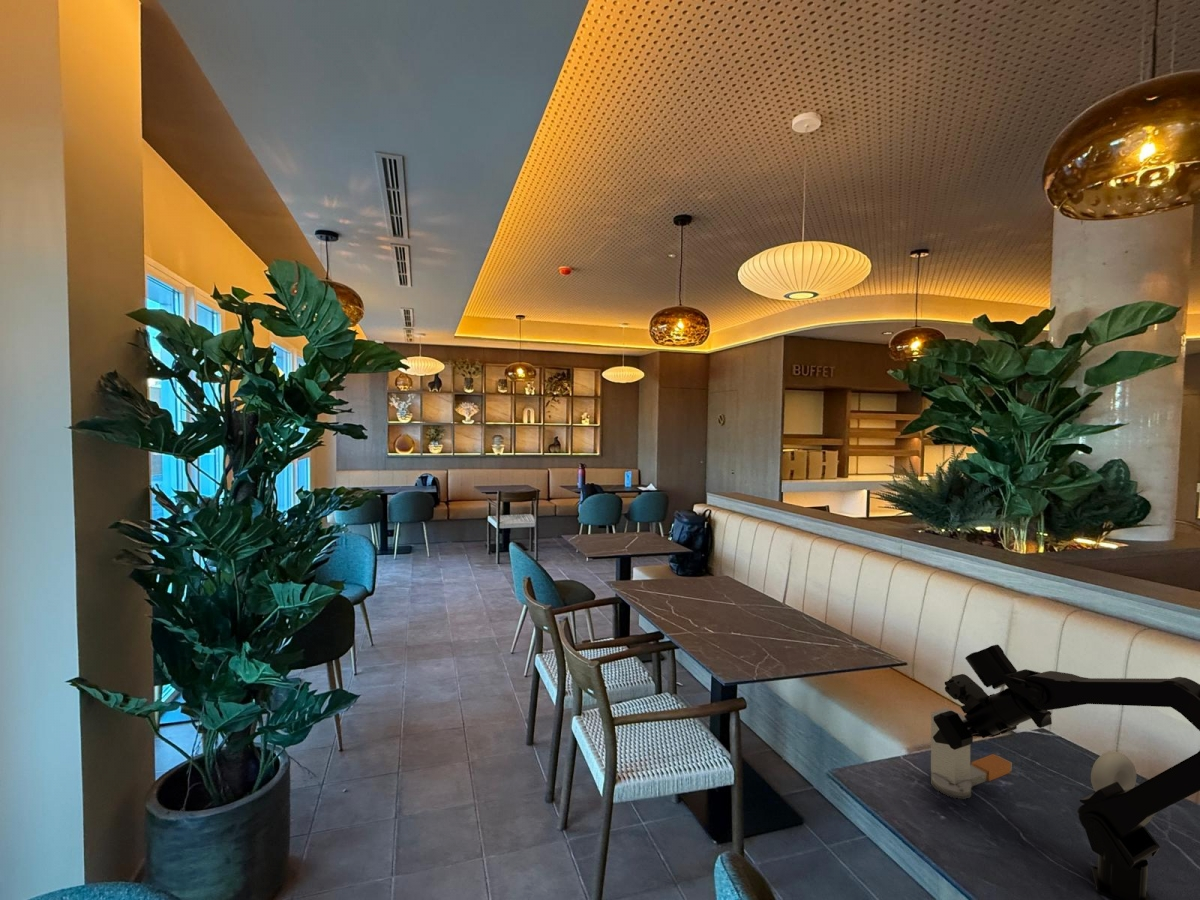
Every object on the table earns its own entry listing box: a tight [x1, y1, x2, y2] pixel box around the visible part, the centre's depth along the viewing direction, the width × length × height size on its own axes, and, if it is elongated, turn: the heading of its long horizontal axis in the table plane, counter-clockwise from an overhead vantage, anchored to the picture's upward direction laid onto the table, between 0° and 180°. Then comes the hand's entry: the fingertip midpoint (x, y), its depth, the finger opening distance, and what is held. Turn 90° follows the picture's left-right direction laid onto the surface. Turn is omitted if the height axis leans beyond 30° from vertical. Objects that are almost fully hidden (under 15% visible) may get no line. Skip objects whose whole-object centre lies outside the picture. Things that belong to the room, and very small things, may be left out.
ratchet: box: [930, 753, 1013, 800], centre depth 117 cm, size 22×7×5 cm, turn 115°
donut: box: [1090, 750, 1137, 792], centre depth 111 cm, size 10×4×10 cm, turn 105°
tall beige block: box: [930, 707, 971, 784], centre depth 114 cm, size 5×5×12 cm
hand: (945, 736), depth 115 cm, fingers open, 7 cm apart
